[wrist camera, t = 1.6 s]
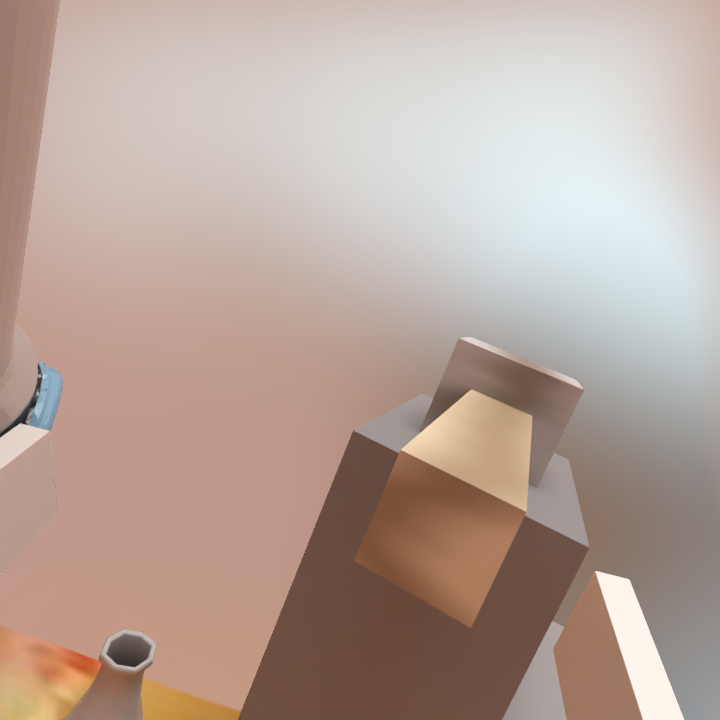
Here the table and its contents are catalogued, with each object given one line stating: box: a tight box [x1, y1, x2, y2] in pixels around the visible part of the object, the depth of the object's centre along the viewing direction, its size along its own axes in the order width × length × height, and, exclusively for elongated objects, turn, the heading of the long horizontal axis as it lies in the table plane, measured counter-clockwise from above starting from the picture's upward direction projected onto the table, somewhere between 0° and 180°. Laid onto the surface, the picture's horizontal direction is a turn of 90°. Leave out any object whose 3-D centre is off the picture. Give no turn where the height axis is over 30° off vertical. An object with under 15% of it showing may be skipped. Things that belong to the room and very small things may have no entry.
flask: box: [63, 629, 157, 720], centre depth 33 cm, size 7×7×10 cm
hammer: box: [354, 337, 584, 628], centre depth 20 cm, size 6×18×5 cm, turn 159°
